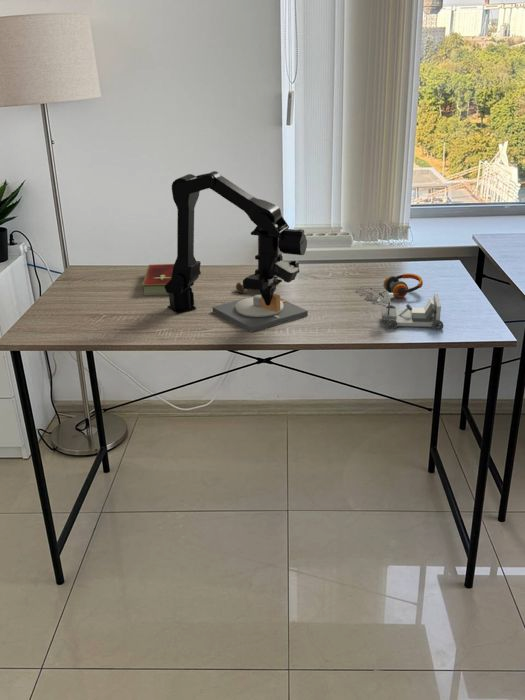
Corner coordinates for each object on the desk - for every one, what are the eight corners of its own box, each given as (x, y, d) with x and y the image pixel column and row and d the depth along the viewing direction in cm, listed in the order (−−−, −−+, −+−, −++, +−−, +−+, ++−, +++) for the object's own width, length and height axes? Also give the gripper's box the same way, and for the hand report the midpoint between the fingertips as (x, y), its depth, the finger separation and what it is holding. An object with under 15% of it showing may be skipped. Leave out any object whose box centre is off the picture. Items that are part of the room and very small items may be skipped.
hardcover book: (185, 274, 251) (184, 262, 249) (181, 295, 232) (180, 283, 230) (150, 275, 251) (148, 263, 249) (143, 297, 232) (141, 284, 230)
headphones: (350, 283, 230) (405, 262, 233) (353, 297, 232) (408, 277, 236) (373, 300, 216) (431, 278, 219) (376, 315, 218) (434, 293, 222)
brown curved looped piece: (276, 279, 226) (278, 263, 234) (235, 275, 227) (238, 259, 235) (275, 299, 231) (277, 282, 239) (234, 295, 231) (237, 278, 239)
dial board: (250, 332, 202) (250, 326, 202) (212, 311, 217) (212, 306, 217) (307, 315, 213) (307, 309, 212) (267, 296, 228) (267, 291, 227)
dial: (225, 309, 214) (224, 291, 212) (258, 296, 223) (258, 279, 221) (261, 321, 205) (261, 302, 203) (294, 307, 214) (294, 289, 212)
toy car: (378, 296, 199) (377, 282, 209) (376, 329, 203) (376, 314, 213) (445, 297, 197) (441, 283, 207) (443, 331, 201) (439, 315, 211)
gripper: (278, 263, 191) (277, 320, 197) (309, 247, 206) (308, 300, 212) (241, 257, 196) (241, 313, 202) (274, 242, 211) (274, 294, 217)
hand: (268, 305), depth 208 cm, fingers closed
